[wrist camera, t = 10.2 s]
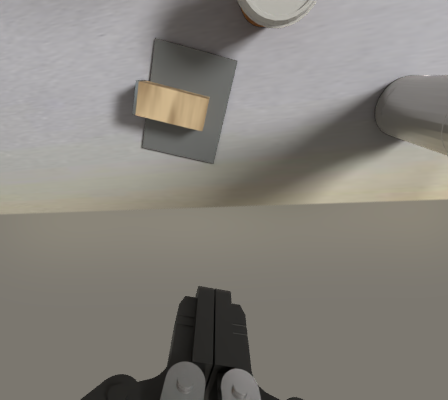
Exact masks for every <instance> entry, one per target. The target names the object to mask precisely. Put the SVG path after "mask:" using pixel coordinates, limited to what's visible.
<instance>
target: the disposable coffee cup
mask: <svg viewBox="0 0 448 400" xmlns="http://www.w3.org/2000/svg"><path fill="white" fill-rule="evenodd" d="M237 1H238V3H239V5H240V7H241V10H242V13H243V15H244V17H245V18H246V19H247V20H248V21H249V22H250V23H251V24H253V25H255V26H258V27H267V28H283V27H287V26H290V25H292V24H294V23H296V22H298V21H299V20H301V19H302V18H303V17H304V16H305V15H307V14H308V13H309V11H310V10H311V9H312V8H313V6H314V5H315V4H316V2H317V0H237Z"/></svg>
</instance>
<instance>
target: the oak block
mask: <svg viewBox="0 0 448 400" xmlns="http://www.w3.org/2000/svg"><path fill="white" fill-rule="evenodd" d="M209 98H210V97H208V96H204V95H200V94H196V93H192V92H188V91H185V90H181V89H177V88H173V87H169V86H165V85H161V84H158V83H154V82H150V81H146V80H136V84H135V95H134V105H133V115H137V116H141V117H145V118H149V119H153V120H157V121H161V122H165V123H169V124H173V125H178V126H182V127H186V128H190V129H194V130H198V131H202V130H203V127H204V122H205V118H206V113H207V108H208V103H209Z"/></svg>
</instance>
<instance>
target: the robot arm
mask: <svg viewBox="0 0 448 400" xmlns="http://www.w3.org/2000/svg"><path fill="white" fill-rule="evenodd" d="M375 119H376V123H377V125H378V127H379V128H380V129H381V130H382V131H383V132H384V133H386V134H387V135H390V136H393V137H396V138H399V139H402V140H404V141H407V142H410V143H413V144H416V145H419V146H421V147H424V148H427V149H430V150H433V151H436V152H439V153H442V154H445V155H447V156H448V75H410V76H405V77H402V78H400V79H397V80H396V81H394V82H393V83H391V84H390V85H389V86H388V87H387V88H386V89H385V90H384V92H383V93H382V94H381V96H380V98H379V100H378V102H377V105H376V110H375ZM81 400H279V399H277V398H275V397H273V396H271V395H269V394H268V393H266V392H264V391H263V390H262V389H261V388H260V387H259V386H258V384H257V382H256V380H255V379H254V377H253V375H252V371H251V364H250V354H249V345H248V337H247V328H246V318H245V314H244V312H243V310H242V308H241V306H240V305H237V304H231V292H230V291H225V290H219V289H213V288H207V287H202V286H198V289H197V293H196V297H189V296H185V297H184V299H183V300H182V301H181V303H180V304H179V308H178V312H177V316H176V321H175V325H174V330H173V336H172V342H171V348H170V353H169V358H168V364H167V367H166V369H165V370H164V371H163V372H162V373H161V374H160V375H158V376H156V377H155V378H152V379H149V380H144V381H140V382H137V381H136V380H135V379H134V378H133V377H131V376H128V375H124V374H120V375H115V376H112V377H110V378H108V379H106V380H105V381H104V382H102V383H101V384H100V385H99V386H97V387H96V388H95V389H94V390H92V391H91V392H90V393H88V394H87V395H86V396H85V397H83V398H82V399H81ZM287 400H303V399H301V398H297V397H292V398H289V399H287Z"/></svg>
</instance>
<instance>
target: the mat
mask: <svg viewBox="0 0 448 400" xmlns="http://www.w3.org/2000/svg"><path fill="white" fill-rule="evenodd" d="M236 65H237V61H236V60H232V59H229V58H225V57H222V56H218V55H214V54H211V53H207V52H203V51H200V50H196V49H193V48H189V47H185V46H182V45H178V44H174V43H171V42H167V41H164V40H160V39H156V38H155V44H154V53H153V61H152V70H151V79H150V82H154V83H158V84H161V85H165V86H169V87H173V88H177V89H181V90H185V91H188V92H192V93H196V94H200V95H204V96H208V97H210V98H209V103H208V108H207V113H206V118H205V122H204V127H203V130H202V131H198V130H194V129H190V128H186V127H182V126H178V125H173V124H169V123H165V122H161V121H157V120H153V119H149V118H146V122H145V130H144V139H143V148H147V149H151V150H156V151H160V152H165V153H169V154H173V155H178V156H182V157H187V158H191V159H195V160H200V161H204V162H209V163H214V159H215V155H216V150H217V146H218V142H219V137H220V133H221V129H222V125H223V120H224V116H225V112H226V108H227V103H228V99H229V95H230V91H231V86H232V82H233V78H234V73H235V69H236Z"/></svg>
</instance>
